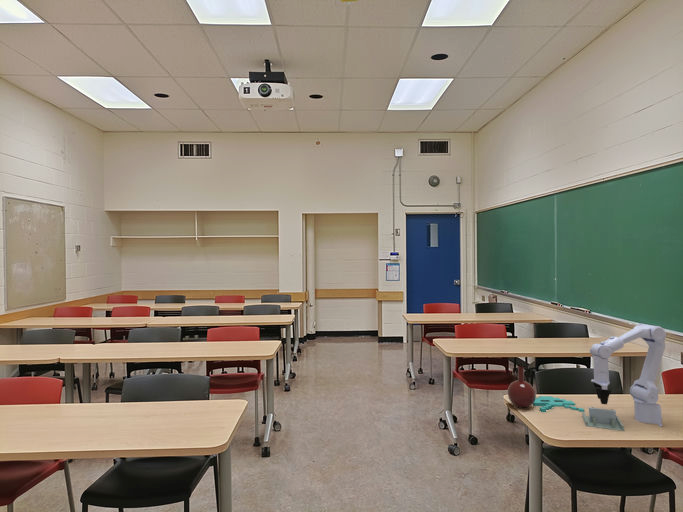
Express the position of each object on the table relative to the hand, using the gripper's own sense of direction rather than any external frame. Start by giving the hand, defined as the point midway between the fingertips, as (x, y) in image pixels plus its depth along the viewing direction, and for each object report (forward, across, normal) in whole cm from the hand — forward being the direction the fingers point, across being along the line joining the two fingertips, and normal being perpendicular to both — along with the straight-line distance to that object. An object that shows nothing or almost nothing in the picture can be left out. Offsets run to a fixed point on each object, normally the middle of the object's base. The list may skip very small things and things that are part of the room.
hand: (602, 401), depth 177 cm
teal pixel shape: (+10, -17, -19) cm, 27 cm away
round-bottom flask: (+10, -9, -34) cm, 36 cm away
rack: (+10, +2, -1) cm, 10 cm away
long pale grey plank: (+9, +2, -1) cm, 9 cm away
